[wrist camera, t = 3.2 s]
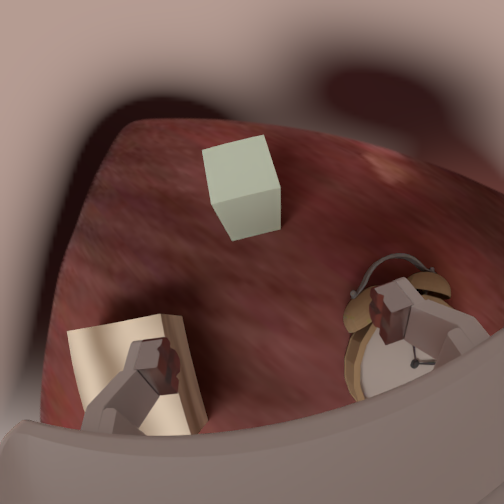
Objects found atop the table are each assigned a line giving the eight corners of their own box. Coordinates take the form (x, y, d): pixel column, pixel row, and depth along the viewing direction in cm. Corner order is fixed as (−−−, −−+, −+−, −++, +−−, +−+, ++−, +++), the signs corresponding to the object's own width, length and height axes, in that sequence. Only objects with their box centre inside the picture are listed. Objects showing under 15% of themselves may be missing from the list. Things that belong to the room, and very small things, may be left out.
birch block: (183, 316, 24) (160, 313, 19) (209, 419, 21) (192, 439, 16) (98, 332, 24) (67, 331, 19) (120, 423, 21) (93, 437, 17)
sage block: (268, 186, 26) (263, 134, 18) (280, 229, 25) (280, 187, 17) (223, 197, 26) (201, 150, 18) (232, 241, 25) (211, 204, 17)
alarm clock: (360, 446, 17) (335, 269, 18) (346, 420, 21) (322, 270, 23) (467, 397, 16) (457, 236, 17) (442, 382, 21) (427, 243, 22)
